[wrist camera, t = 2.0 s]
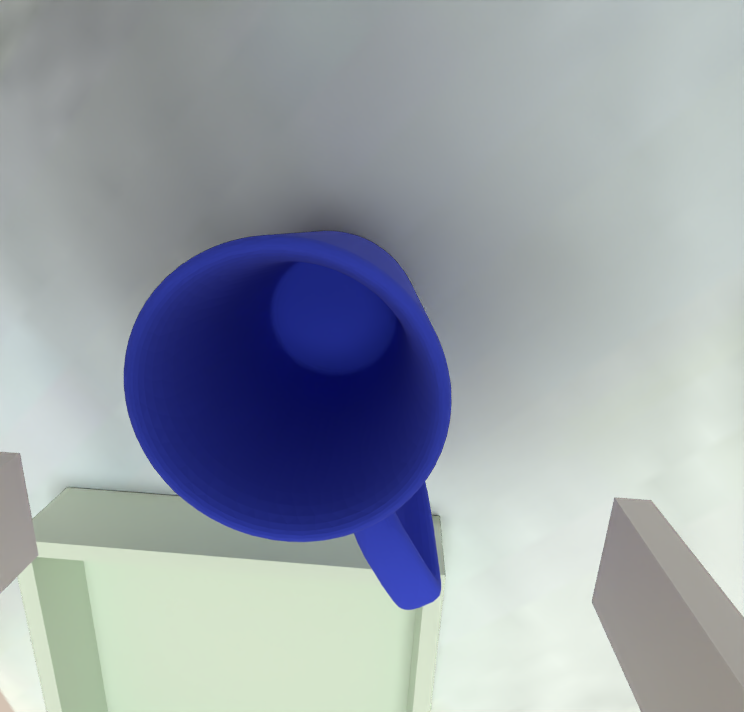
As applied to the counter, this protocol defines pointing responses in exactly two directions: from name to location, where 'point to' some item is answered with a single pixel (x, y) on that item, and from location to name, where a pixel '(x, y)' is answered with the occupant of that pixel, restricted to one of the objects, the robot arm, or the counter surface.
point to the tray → (214, 615)
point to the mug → (298, 397)
